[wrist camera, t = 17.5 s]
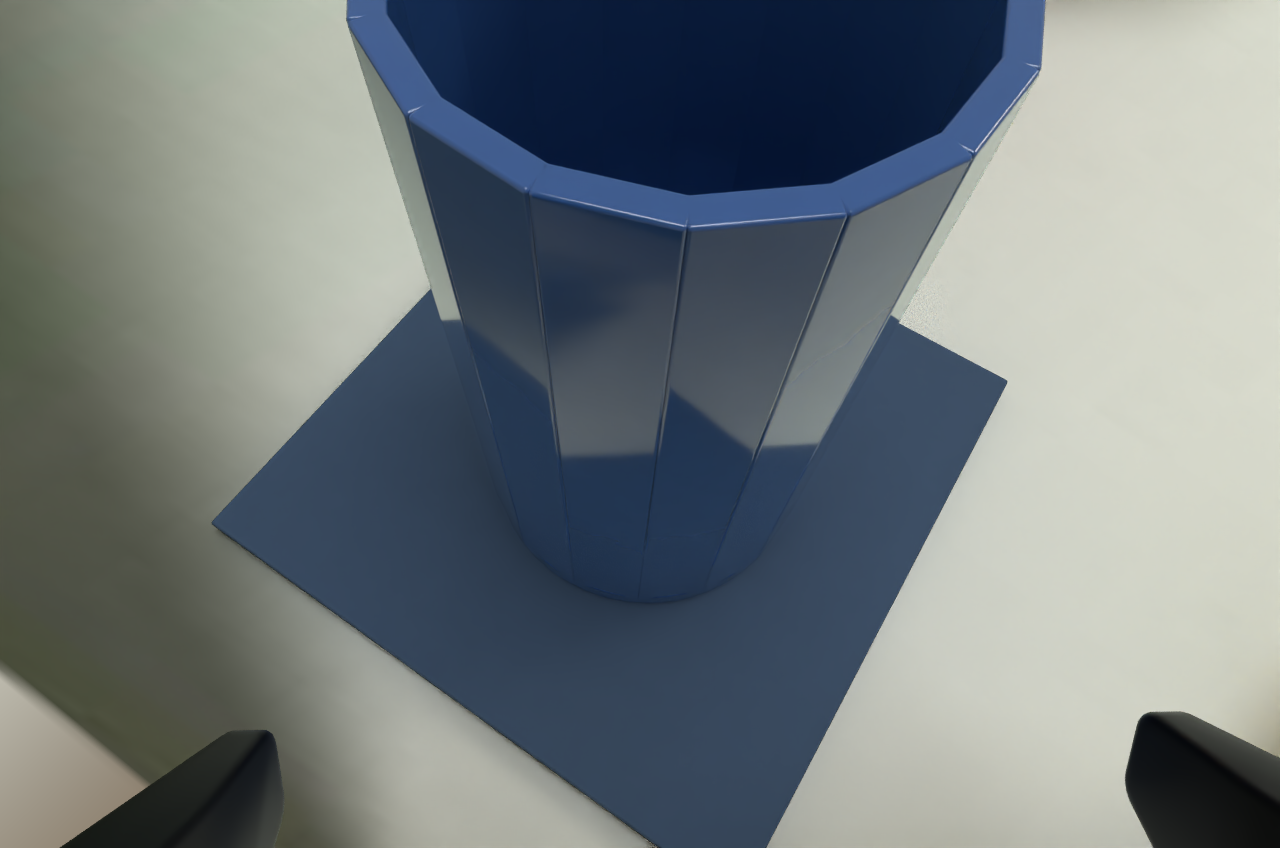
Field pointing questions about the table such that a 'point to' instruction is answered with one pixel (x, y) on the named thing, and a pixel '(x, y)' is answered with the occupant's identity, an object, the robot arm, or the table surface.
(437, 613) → the blue mat
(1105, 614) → the table surface
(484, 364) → the blue cup
